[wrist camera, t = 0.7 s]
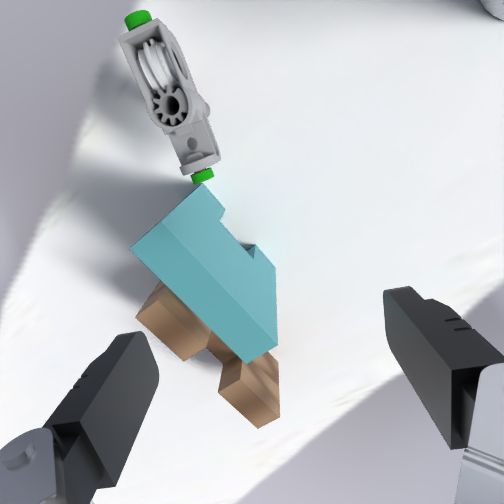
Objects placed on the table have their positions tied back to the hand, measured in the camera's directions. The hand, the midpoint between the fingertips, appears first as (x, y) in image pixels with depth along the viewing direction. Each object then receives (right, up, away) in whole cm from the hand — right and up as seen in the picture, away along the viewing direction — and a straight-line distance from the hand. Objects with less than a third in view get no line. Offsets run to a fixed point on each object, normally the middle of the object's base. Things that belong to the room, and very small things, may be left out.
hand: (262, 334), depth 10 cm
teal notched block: (-3, +5, +23) cm, 24 cm away
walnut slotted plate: (-4, -6, +28) cm, 28 cm away
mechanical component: (-5, +16, +19) cm, 25 cm away
